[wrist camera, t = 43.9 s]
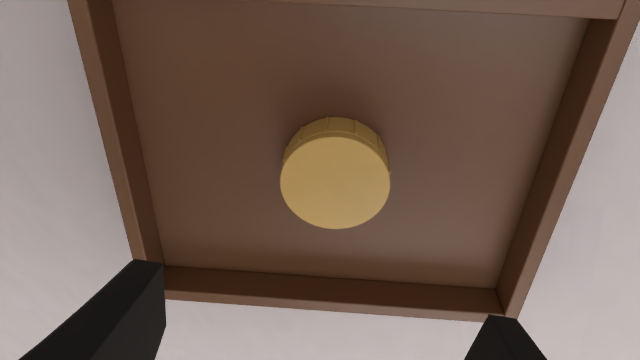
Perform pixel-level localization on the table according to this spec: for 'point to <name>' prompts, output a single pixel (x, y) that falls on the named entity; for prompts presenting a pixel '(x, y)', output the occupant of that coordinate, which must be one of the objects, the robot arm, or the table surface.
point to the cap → (335, 173)
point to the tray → (367, 108)
